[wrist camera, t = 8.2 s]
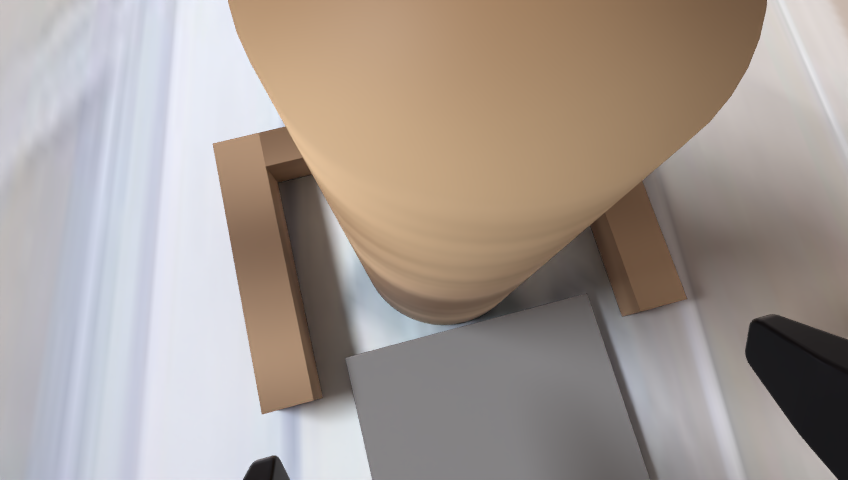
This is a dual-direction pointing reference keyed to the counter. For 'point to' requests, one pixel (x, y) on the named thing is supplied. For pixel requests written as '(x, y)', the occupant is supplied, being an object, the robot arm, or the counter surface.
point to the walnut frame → (278, 283)
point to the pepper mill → (487, 122)
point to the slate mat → (498, 402)
